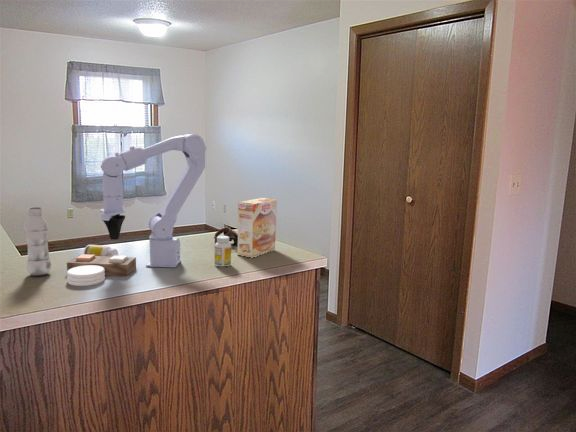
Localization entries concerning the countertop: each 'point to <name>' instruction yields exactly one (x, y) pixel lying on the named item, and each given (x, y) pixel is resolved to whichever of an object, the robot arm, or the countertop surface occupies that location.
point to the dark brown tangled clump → (227, 234)
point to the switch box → (107, 265)
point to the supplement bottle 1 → (100, 250)
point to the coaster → (85, 275)
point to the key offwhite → (118, 259)
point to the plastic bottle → (37, 242)
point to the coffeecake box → (256, 226)
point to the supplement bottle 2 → (222, 251)
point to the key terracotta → (85, 258)
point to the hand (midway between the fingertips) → (114, 239)
